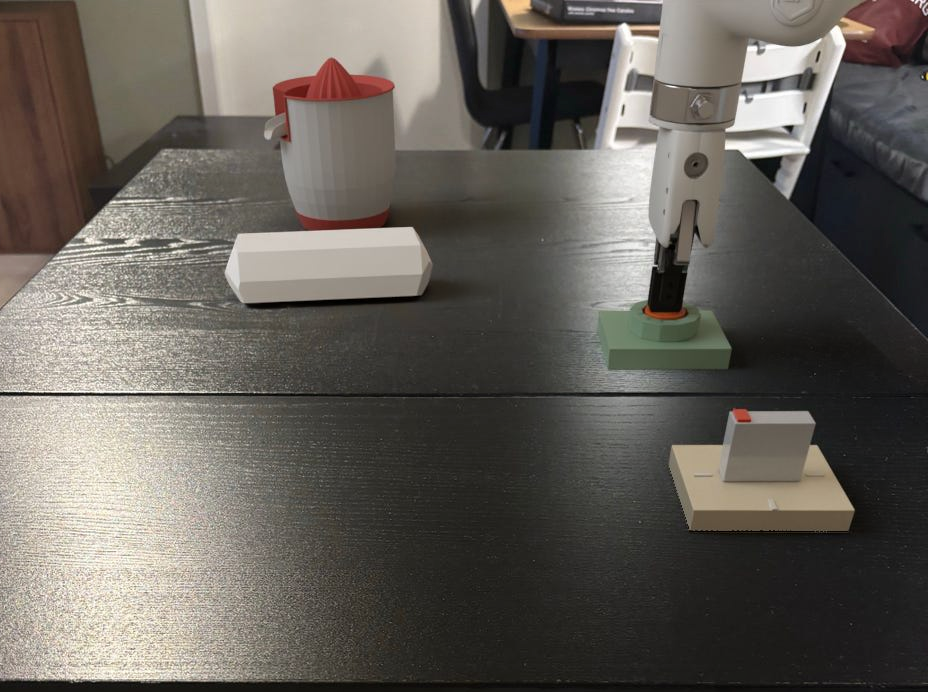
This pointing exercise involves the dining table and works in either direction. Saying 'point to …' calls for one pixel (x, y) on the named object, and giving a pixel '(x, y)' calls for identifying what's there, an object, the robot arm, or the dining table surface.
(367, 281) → the crystal
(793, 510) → the plate
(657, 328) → the button block
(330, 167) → the citrus juicer
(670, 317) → the button
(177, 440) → the dining table surface
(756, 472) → the tap handle
